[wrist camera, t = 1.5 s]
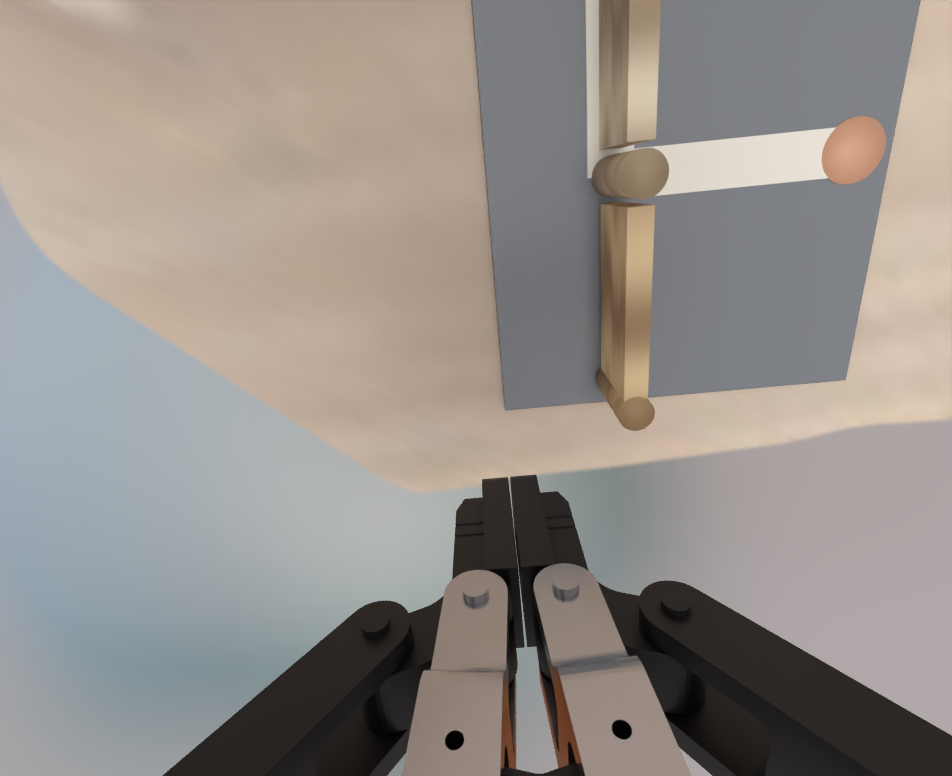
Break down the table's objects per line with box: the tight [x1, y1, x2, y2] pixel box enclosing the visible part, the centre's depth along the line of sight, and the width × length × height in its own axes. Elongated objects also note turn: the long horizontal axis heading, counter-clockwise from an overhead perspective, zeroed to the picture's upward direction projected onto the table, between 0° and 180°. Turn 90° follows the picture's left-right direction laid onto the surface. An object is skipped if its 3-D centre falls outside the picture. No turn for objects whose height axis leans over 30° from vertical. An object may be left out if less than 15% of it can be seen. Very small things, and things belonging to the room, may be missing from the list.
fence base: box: [591, 0, 669, 199], centre depth 21 cm, size 13×2×6 cm, turn 6°
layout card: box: [472, 0, 921, 410], centre depth 26 cm, size 26×21×1 cm
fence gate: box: [596, 201, 655, 431], centre depth 26 cm, size 11×2×5 cm, turn 5°
